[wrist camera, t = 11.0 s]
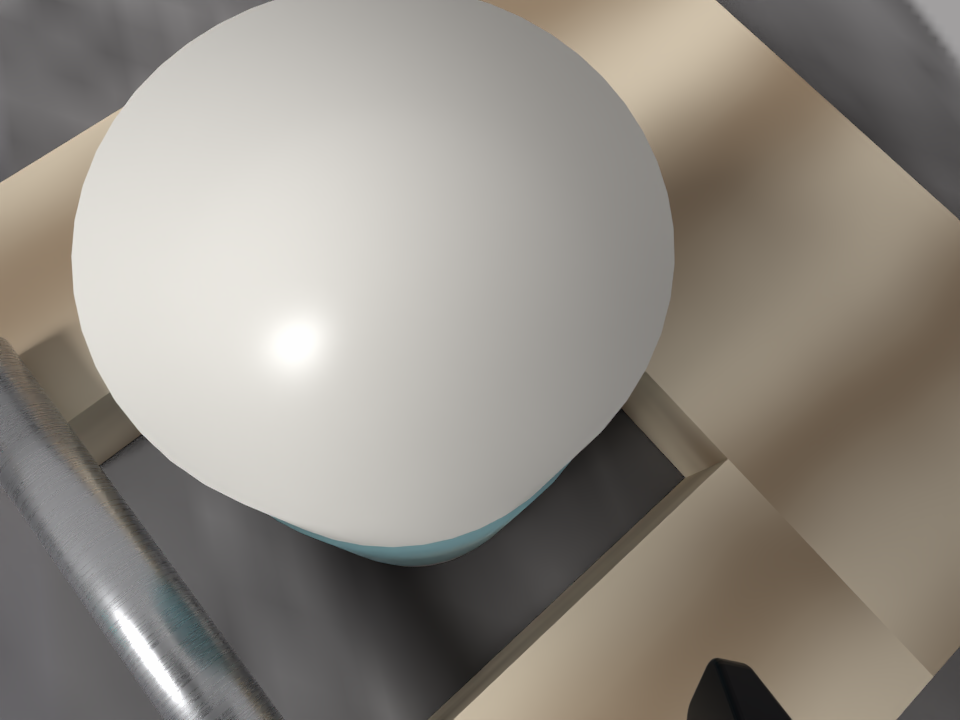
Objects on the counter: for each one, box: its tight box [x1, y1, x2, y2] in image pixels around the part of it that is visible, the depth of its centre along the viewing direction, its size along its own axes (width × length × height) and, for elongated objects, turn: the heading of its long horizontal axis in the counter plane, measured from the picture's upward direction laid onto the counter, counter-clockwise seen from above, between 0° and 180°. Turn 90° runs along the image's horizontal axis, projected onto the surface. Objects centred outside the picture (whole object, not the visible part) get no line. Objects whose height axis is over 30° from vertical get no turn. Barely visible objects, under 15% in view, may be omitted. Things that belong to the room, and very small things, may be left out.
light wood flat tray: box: [0, 0, 960, 720], centre depth 19 cm, size 22×21×3 cm
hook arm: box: [0, 337, 284, 720], centre depth 14 cm, size 14×2×2 cm, turn 41°
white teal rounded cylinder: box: [71, 0, 675, 567], centre depth 13 cm, size 6×6×13 cm
